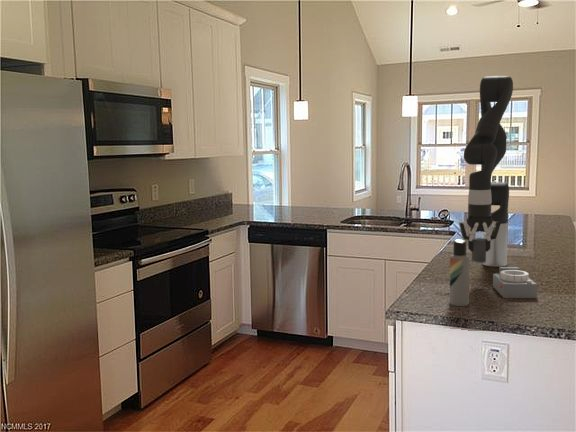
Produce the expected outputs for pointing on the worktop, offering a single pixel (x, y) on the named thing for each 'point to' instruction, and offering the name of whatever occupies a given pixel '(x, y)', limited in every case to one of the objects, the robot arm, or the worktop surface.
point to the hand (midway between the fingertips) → (478, 250)
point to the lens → (479, 250)
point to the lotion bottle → (459, 274)
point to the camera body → (514, 283)
